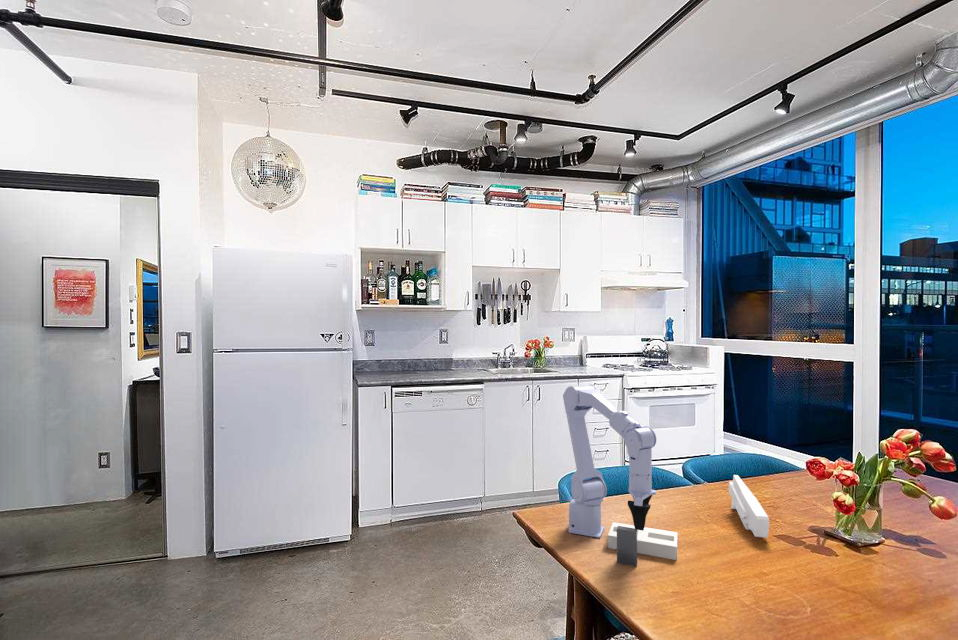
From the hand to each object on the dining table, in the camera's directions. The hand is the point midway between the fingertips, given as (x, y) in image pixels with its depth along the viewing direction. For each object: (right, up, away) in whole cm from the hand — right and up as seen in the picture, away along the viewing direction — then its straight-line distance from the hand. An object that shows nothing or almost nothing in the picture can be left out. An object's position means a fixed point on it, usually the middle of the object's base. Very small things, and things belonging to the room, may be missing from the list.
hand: (640, 523), depth 129 cm
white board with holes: (+3, -10, +8) cm, 13 cm away
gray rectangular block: (-4, -10, -2) cm, 11 cm away
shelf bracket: (+42, -10, +23) cm, 49 cm away
